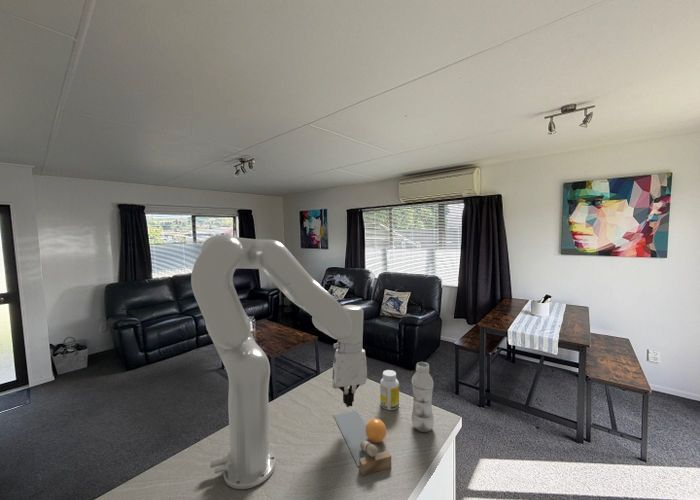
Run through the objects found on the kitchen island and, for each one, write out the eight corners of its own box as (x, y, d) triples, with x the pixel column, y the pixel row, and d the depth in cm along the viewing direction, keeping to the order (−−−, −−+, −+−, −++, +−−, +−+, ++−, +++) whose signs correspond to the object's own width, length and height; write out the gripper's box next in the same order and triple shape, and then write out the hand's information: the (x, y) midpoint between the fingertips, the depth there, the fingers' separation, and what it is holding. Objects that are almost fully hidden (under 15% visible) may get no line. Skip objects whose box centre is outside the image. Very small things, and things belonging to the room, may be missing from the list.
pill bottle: (401, 403, 101) (402, 371, 100) (394, 413, 95) (394, 379, 95) (385, 398, 104) (385, 367, 103) (377, 407, 99) (377, 374, 98)
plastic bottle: (434, 436, 84) (435, 370, 83) (411, 433, 85) (411, 368, 84) (432, 422, 90) (433, 360, 89) (411, 420, 92) (411, 359, 91)
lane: (357, 466, 73) (357, 466, 73) (333, 416, 94) (333, 415, 94) (386, 458, 76) (386, 457, 76) (356, 410, 97) (356, 410, 97)
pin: (361, 452, 78) (369, 458, 71) (358, 441, 79) (367, 446, 72) (369, 449, 79) (379, 454, 72) (367, 438, 80) (376, 443, 73)
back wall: (362, 476, 70) (362, 464, 70) (359, 470, 72) (359, 458, 72) (391, 467, 73) (391, 455, 73) (387, 461, 75) (387, 450, 75)
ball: (379, 413, 82) (360, 419, 83) (384, 438, 78) (364, 444, 79) (386, 418, 86) (368, 423, 87) (391, 441, 82) (372, 446, 83)
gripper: (330, 352, 82) (328, 415, 83) (377, 348, 87) (375, 407, 88) (323, 343, 89) (321, 401, 90) (367, 339, 94) (365, 394, 95)
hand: (348, 404), depth 89 cm, fingers closed
